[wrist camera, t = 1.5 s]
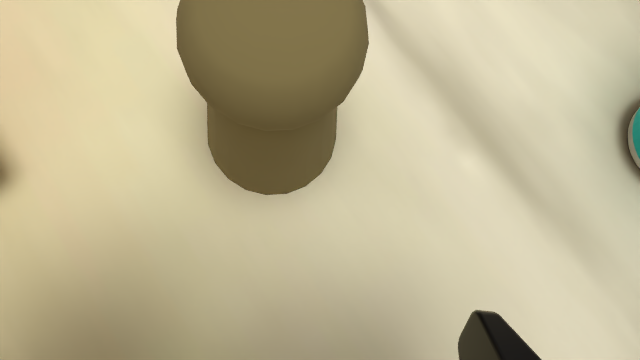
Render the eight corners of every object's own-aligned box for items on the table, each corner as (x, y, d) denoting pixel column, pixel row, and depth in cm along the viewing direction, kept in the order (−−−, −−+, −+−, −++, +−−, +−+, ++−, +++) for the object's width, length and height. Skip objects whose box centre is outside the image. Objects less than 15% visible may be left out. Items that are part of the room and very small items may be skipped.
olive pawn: (221, 207, 21) (169, 146, 10) (195, 83, 22) (123, -93, 11) (349, 179, 22) (426, 95, 11) (319, 61, 23) (364, -123, 12)
